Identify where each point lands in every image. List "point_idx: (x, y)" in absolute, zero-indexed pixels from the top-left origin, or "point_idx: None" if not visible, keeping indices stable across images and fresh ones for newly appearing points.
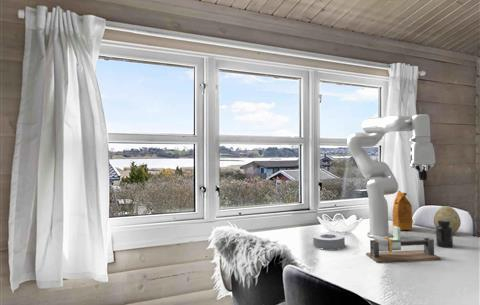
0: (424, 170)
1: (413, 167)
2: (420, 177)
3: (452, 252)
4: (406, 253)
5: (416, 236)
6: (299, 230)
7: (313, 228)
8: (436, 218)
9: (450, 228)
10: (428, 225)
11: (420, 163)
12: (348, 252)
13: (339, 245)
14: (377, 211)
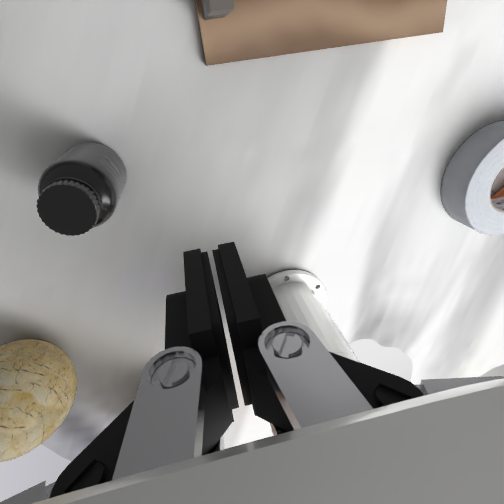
0: (209, 375)
1: (480, 380)
2: (265, 278)
3: (90, 57)
4: (302, 6)
5: (164, 308)
6: (477, 351)
7: (432, 375)
8: (64, 389)
9: (49, 170)
10: (80, 449)
11: (470, 429)
12: (474, 77)
13: (488, 131)
14: (337, 343)
